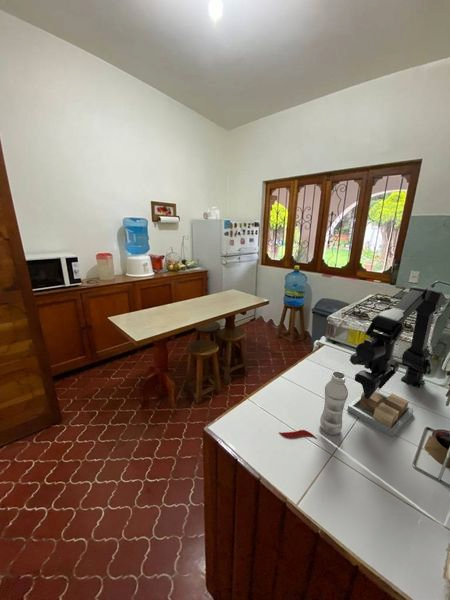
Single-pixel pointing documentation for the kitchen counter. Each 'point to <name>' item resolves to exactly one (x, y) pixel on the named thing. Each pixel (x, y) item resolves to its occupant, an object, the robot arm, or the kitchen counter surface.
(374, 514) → the kitchen counter surface
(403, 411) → the block
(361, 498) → the kitchen counter surface
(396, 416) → the block
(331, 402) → the plastic bottle
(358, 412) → the tray
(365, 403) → the block
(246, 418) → the kitchen counter surface
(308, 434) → the cayenne pepper
